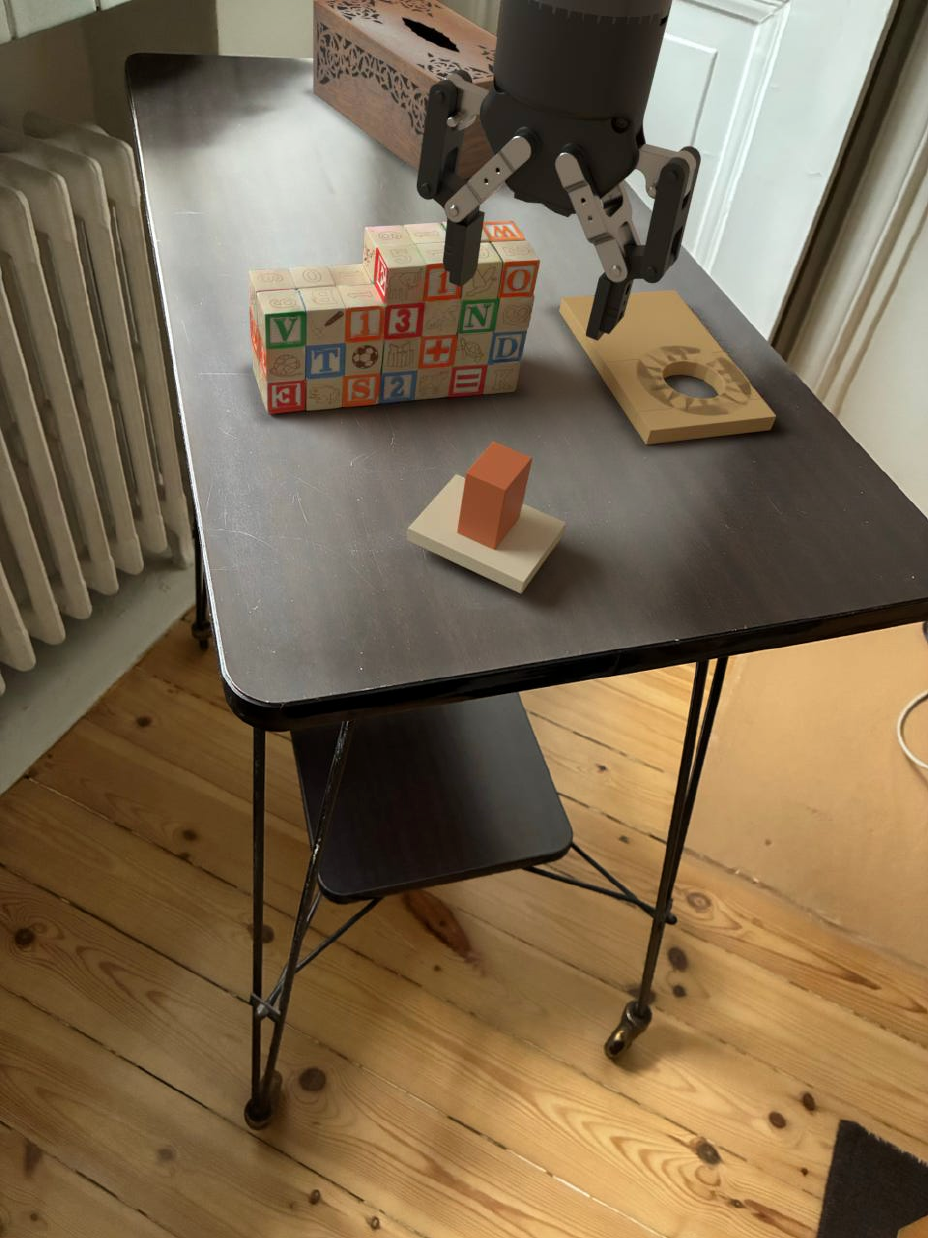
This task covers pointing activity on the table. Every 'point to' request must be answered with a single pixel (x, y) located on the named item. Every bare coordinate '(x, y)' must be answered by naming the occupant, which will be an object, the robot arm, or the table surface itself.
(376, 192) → the table surface
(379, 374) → the stack of blocks
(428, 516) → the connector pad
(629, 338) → the base pad
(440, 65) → the tissue box cover
